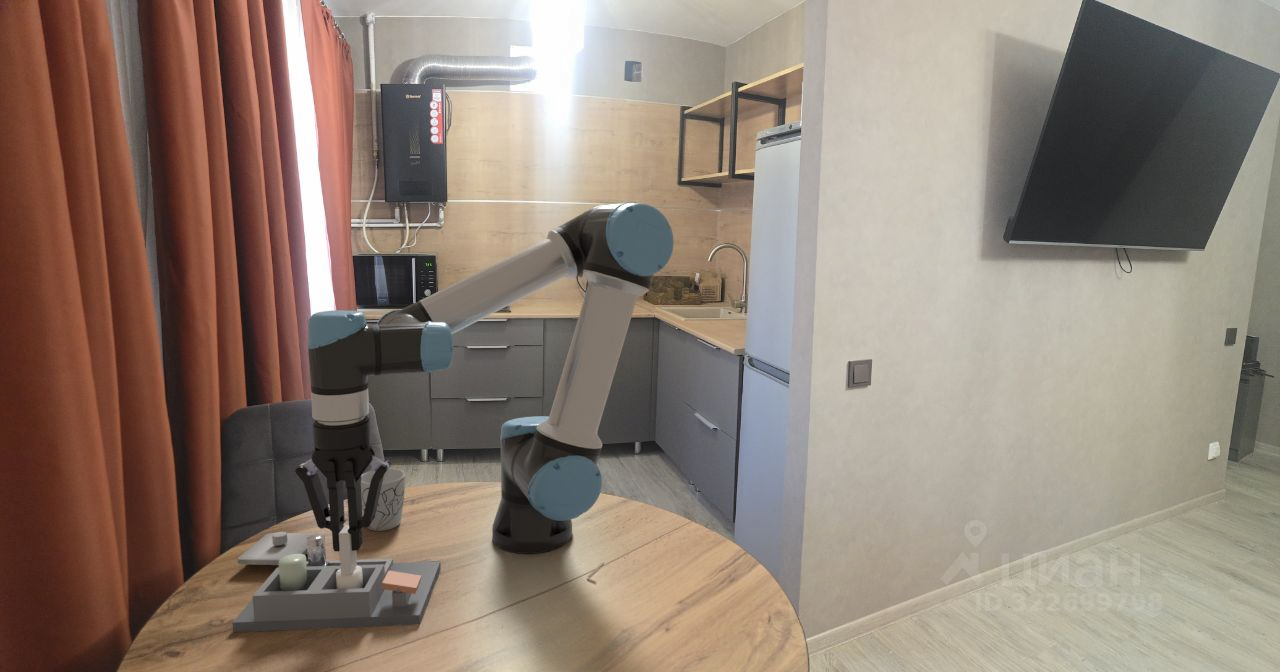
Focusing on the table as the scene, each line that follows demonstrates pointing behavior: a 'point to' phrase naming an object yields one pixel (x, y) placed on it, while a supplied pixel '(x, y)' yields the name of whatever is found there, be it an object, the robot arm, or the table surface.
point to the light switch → (275, 548)
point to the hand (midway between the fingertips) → (349, 569)
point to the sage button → (292, 572)
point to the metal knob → (316, 550)
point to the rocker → (401, 582)
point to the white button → (350, 579)
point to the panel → (339, 599)
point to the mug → (386, 499)
